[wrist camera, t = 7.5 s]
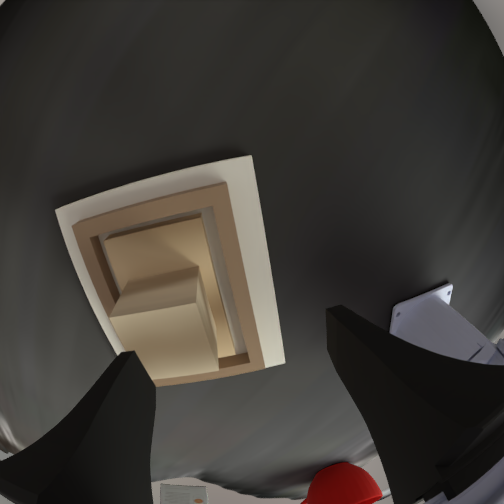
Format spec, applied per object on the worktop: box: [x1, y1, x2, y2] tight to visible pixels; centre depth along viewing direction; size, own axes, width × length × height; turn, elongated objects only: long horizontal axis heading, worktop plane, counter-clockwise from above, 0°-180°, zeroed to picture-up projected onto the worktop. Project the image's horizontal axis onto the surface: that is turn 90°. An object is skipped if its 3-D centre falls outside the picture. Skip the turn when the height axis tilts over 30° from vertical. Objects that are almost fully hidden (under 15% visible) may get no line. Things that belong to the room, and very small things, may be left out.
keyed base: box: [55, 155, 285, 387], centre depth 18 cm, size 16×13×2 cm
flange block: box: [103, 213, 236, 380], centre depth 15 cm, size 10×6×5 cm, turn 9°
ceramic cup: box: [301, 462, 383, 504], centre depth 32 cm, size 13×17×10 cm
